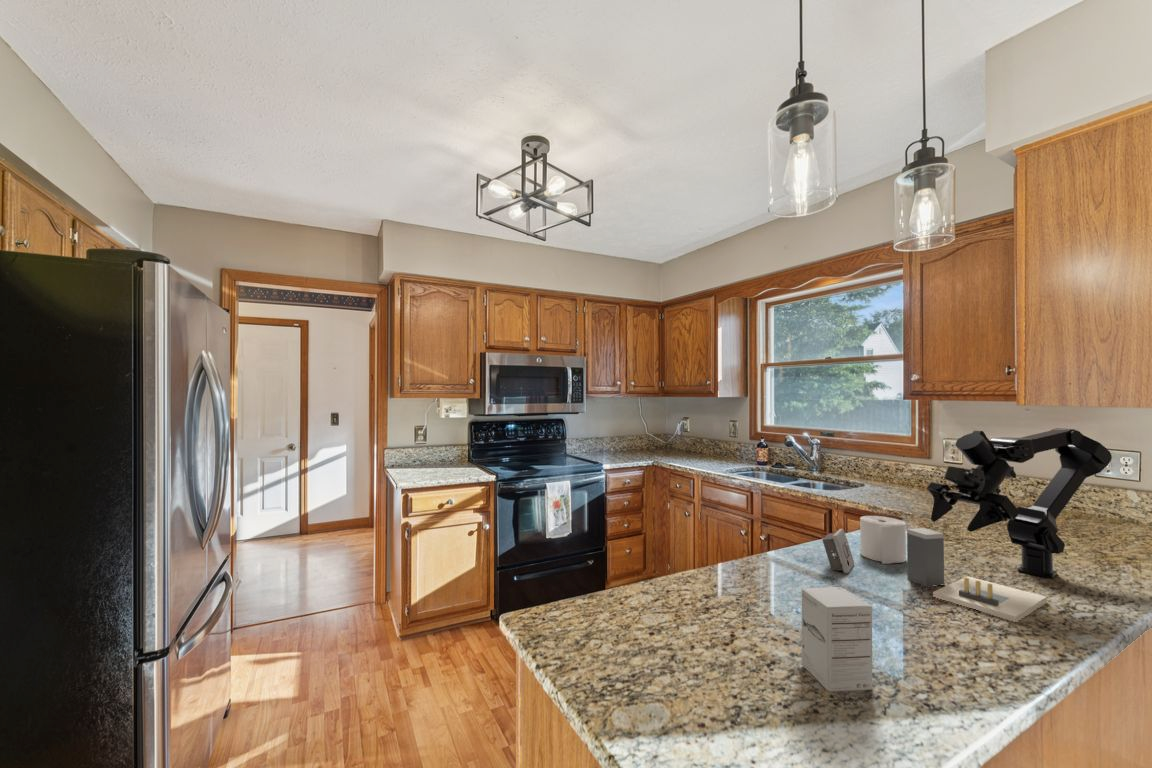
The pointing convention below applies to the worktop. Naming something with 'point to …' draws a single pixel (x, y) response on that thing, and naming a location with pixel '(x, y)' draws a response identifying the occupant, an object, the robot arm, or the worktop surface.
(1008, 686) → the worktop surface
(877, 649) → the worktop surface
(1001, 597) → the board
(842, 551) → the electrical switch
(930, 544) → the plug block
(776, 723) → the worktop surface
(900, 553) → the toilet tissue
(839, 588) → the supplement box
